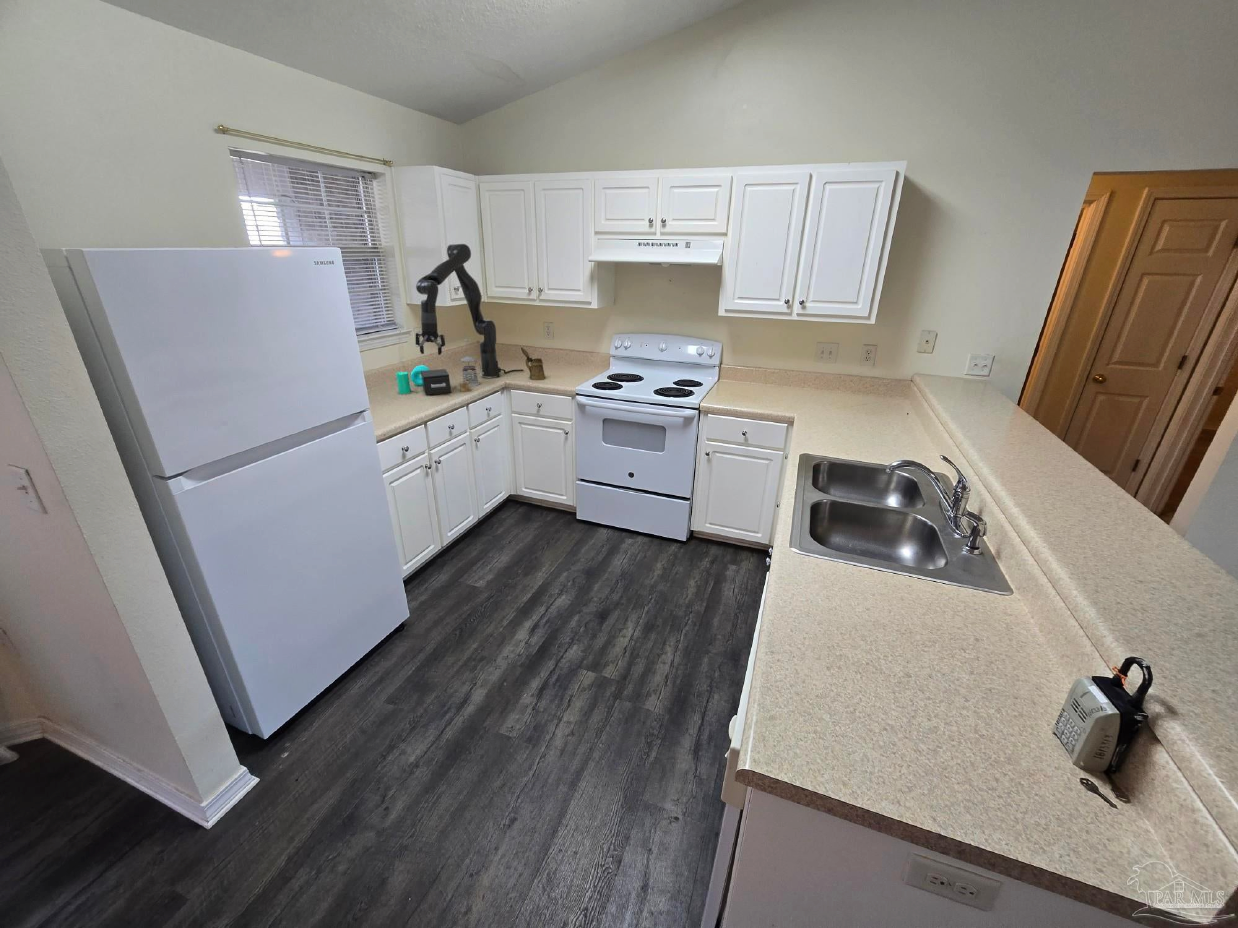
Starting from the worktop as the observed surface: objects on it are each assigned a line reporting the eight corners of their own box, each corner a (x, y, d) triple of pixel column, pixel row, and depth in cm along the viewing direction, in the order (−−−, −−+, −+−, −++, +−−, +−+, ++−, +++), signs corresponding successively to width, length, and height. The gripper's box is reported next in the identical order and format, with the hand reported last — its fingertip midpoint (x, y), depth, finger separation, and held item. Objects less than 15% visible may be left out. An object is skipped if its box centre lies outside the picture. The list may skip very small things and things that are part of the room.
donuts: (411, 386, 283) (408, 369, 279) (414, 382, 292) (411, 365, 288) (430, 386, 284) (427, 368, 281) (432, 381, 294) (430, 364, 290)
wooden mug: (524, 376, 308) (522, 345, 301) (546, 376, 307) (545, 346, 300) (520, 379, 300) (518, 348, 293) (543, 380, 299) (541, 349, 292)
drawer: (451, 394, 265) (449, 379, 262) (428, 396, 261) (425, 381, 258) (447, 386, 281) (445, 371, 278) (424, 388, 276) (422, 373, 273)
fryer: (451, 392, 272) (448, 374, 268) (425, 395, 267) (423, 376, 263) (447, 386, 284) (445, 369, 280) (423, 388, 279) (420, 371, 275)
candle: (396, 393, 270) (392, 370, 265) (404, 390, 275) (401, 368, 271) (405, 394, 268) (401, 371, 263) (413, 391, 273) (410, 369, 269)
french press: (459, 383, 291) (454, 338, 281) (480, 380, 296) (475, 337, 286) (464, 386, 283) (458, 341, 273) (484, 384, 288) (480, 339, 279)
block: (468, 388, 279) (467, 380, 277) (470, 390, 275) (469, 382, 274) (460, 389, 277) (459, 381, 276) (461, 391, 274) (460, 383, 272)
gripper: (445, 322, 262) (447, 354, 267) (417, 320, 261) (419, 352, 266) (441, 323, 255) (442, 356, 260) (412, 321, 254) (414, 354, 259)
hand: (431, 354), depth 263 cm, fingers open, 8 cm apart
